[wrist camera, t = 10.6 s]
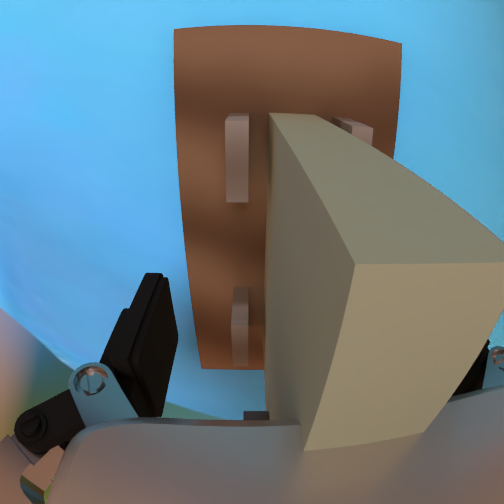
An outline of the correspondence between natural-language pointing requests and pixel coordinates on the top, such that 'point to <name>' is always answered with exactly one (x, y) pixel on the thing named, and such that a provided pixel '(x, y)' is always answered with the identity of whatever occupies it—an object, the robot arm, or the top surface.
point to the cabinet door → (366, 289)
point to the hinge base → (259, 153)
